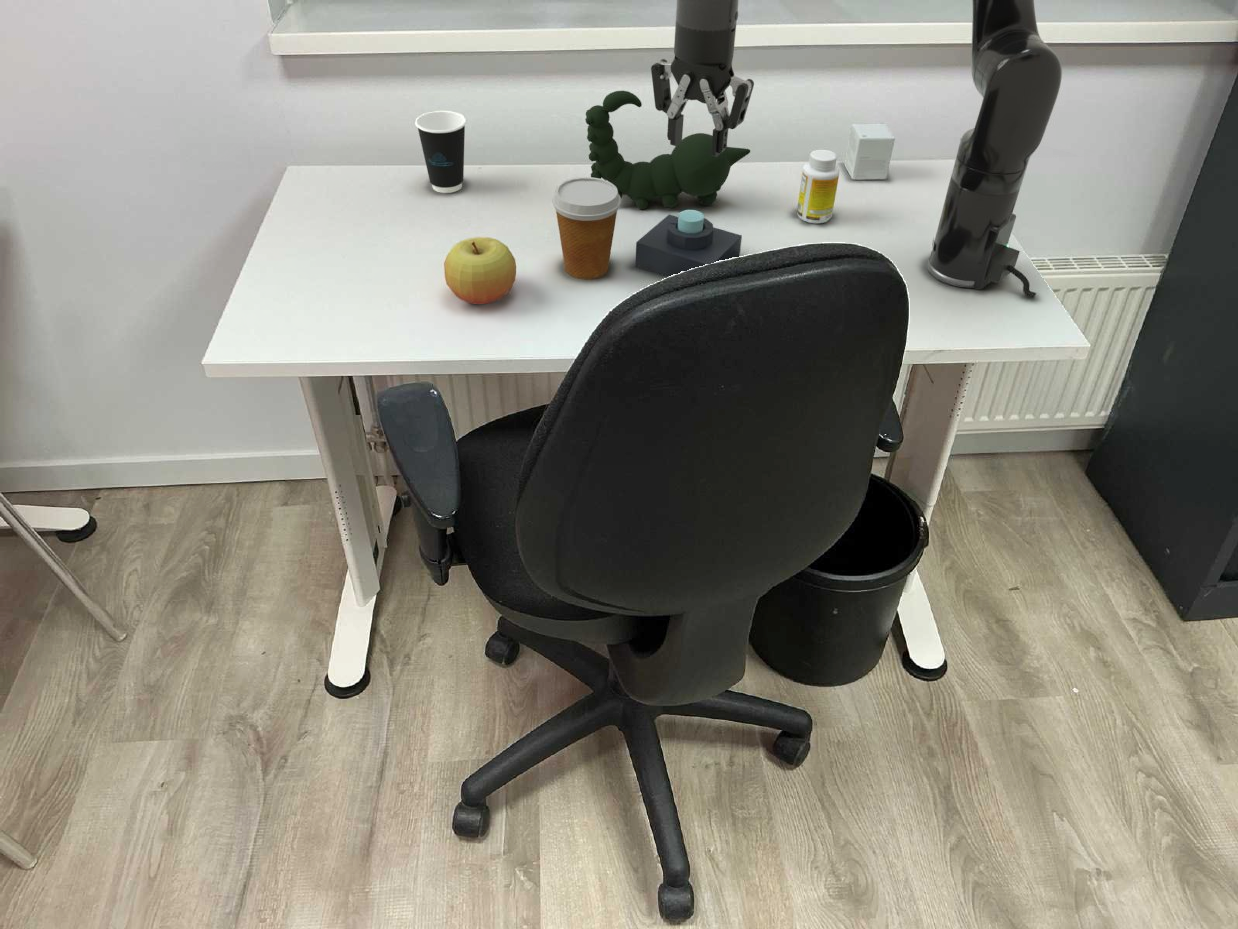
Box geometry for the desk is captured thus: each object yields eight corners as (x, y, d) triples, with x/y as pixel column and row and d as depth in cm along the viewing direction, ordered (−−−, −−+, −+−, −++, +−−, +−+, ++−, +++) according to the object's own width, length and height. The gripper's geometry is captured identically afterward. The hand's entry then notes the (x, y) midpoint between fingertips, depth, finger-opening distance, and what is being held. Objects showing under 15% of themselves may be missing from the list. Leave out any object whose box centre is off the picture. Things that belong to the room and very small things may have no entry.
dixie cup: (432, 201, 158) (425, 134, 151) (415, 180, 163) (407, 115, 156) (479, 191, 161) (474, 125, 154) (461, 171, 166) (455, 106, 159)
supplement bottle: (838, 218, 157) (850, 156, 150) (814, 228, 154) (825, 165, 147) (812, 204, 160) (822, 143, 153) (788, 214, 157) (797, 153, 150)
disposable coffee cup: (561, 289, 139) (560, 210, 131) (547, 255, 146) (545, 179, 138) (627, 280, 141) (629, 203, 133) (609, 248, 148) (611, 172, 140)
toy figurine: (593, 224, 157) (752, 214, 156) (582, 106, 144) (754, 94, 143) (594, 196, 164) (746, 186, 163) (584, 81, 151) (748, 70, 150)
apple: (448, 276, 141) (442, 225, 136) (516, 274, 142) (514, 223, 137) (445, 315, 134) (439, 262, 128) (518, 312, 135) (515, 260, 129)
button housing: (739, 259, 146) (743, 222, 142) (709, 290, 140) (712, 252, 136) (667, 238, 151) (669, 201, 147) (635, 266, 144) (636, 229, 140)
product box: (887, 180, 167) (896, 138, 162) (851, 180, 167) (859, 138, 162) (878, 164, 172) (886, 123, 167) (843, 164, 171) (851, 122, 167)
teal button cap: (707, 226, 142) (708, 213, 141) (695, 237, 140) (696, 223, 138) (684, 220, 143) (685, 207, 142) (673, 230, 141) (674, 217, 140)
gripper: (640, 15, 123) (636, 146, 134) (746, 37, 118) (732, 172, 129) (669, -1, 128) (662, 127, 139) (772, 20, 122) (756, 151, 134)
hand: (696, 148), depth 134 cm, fingers open, 5 cm apart
